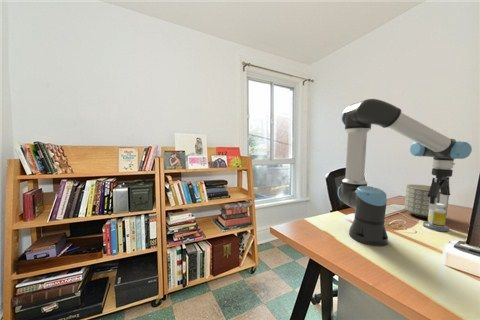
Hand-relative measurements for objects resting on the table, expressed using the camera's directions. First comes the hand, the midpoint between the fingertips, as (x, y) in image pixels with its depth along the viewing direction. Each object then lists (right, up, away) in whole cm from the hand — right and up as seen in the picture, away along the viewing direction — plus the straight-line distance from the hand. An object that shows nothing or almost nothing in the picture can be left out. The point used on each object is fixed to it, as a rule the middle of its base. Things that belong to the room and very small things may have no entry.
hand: (437, 208), depth 104 cm
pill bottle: (0, -10, +1) cm, 10 cm away
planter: (+10, -10, +18) cm, 23 cm away
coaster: (0, -11, +1) cm, 11 cm away
